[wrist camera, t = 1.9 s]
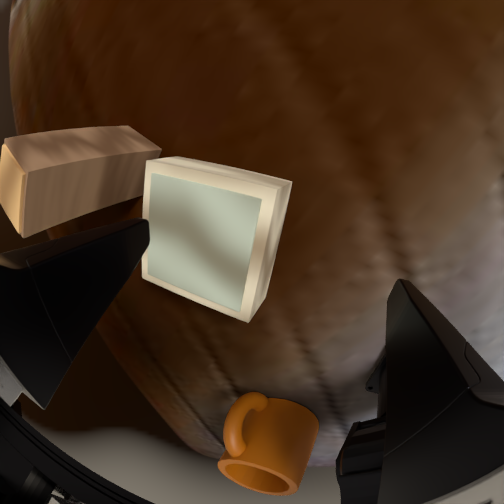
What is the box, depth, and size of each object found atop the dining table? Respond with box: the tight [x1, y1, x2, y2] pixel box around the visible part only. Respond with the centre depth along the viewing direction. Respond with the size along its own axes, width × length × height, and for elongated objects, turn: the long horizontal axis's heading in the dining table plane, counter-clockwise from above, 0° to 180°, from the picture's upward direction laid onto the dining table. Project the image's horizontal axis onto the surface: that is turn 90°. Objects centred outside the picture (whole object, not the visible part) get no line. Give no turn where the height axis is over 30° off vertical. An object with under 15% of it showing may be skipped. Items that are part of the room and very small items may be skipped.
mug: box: [218, 392, 319, 496], centre depth 25 cm, size 9×12×9 cm
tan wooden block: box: [0, 126, 162, 238], centre depth 18 cm, size 5×5×13 cm
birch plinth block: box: [142, 156, 292, 323], centre depth 22 cm, size 10×10×4 cm
